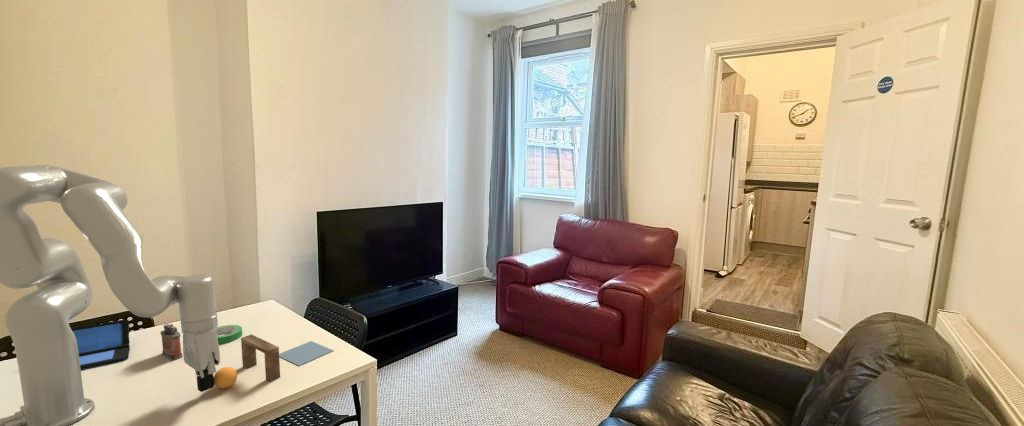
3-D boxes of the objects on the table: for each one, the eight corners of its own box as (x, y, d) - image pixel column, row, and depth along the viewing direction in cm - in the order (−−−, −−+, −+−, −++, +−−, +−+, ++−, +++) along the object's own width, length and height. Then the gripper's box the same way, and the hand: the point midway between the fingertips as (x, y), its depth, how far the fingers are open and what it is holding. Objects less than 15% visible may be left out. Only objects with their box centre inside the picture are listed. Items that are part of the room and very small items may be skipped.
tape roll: (207, 334, 147) (207, 327, 147) (244, 329, 152) (244, 322, 151) (200, 348, 137) (199, 340, 137) (239, 342, 142) (239, 335, 141)
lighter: (159, 354, 132) (156, 324, 130) (172, 350, 135) (169, 320, 133) (172, 361, 128) (169, 330, 126) (185, 356, 131) (182, 326, 129)
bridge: (269, 381, 119) (268, 351, 117) (242, 366, 126) (240, 337, 125) (280, 376, 121) (278, 347, 120) (253, 362, 128) (251, 334, 127)
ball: (225, 369, 112) (244, 372, 116) (216, 362, 115) (235, 365, 119) (214, 390, 110) (234, 392, 115) (205, 383, 113) (225, 385, 118)
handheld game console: (53, 377, 118) (49, 346, 116) (62, 358, 128) (58, 329, 126) (128, 361, 128) (125, 332, 126) (131, 344, 138) (128, 318, 136)
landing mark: (298, 366, 127) (298, 365, 127) (276, 355, 133) (276, 354, 133) (333, 351, 137) (333, 350, 137) (311, 341, 143) (311, 340, 143)
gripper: (170, 321, 109) (177, 386, 112) (195, 335, 101) (202, 405, 104) (203, 312, 115) (209, 374, 118) (229, 325, 107) (235, 391, 110)
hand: (206, 388), depth 111 cm, fingers closed
